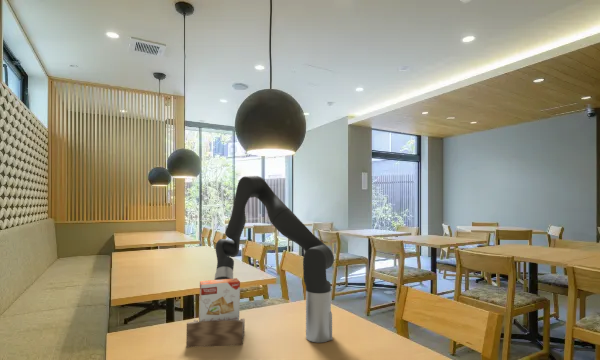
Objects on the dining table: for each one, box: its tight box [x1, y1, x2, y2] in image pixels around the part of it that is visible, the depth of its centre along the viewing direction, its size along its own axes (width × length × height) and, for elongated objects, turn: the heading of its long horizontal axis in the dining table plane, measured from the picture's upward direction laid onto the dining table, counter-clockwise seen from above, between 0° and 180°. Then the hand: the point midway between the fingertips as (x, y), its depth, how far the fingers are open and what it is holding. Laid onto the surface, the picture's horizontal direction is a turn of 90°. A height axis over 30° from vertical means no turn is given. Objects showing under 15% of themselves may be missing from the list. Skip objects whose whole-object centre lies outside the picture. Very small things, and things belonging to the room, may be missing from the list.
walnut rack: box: [185, 318, 246, 348], centre depth 122 cm, size 19×12×8 cm, turn 95°
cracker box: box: [198, 277, 241, 322], centre depth 123 cm, size 14×6×21 cm, turn 112°
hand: (218, 321), depth 126 cm, fingers closed
